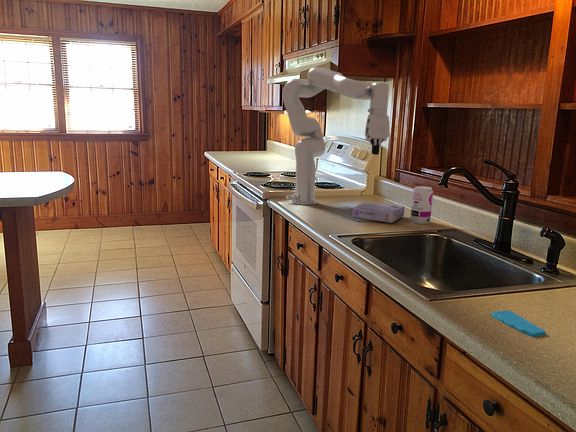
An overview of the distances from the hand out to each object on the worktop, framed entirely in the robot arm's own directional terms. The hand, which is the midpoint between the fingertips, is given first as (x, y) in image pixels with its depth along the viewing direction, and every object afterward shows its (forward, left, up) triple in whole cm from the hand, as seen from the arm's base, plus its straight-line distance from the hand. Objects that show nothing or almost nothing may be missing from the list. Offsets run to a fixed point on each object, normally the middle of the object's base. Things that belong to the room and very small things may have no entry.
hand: (375, 154), depth 214 cm
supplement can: (+11, -21, -27) cm, 36 cm away
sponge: (-37, -108, -28) cm, 118 cm away
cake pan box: (+5, -2, -25) cm, 25 cm away
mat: (-6, -1, -27) cm, 28 cm away
